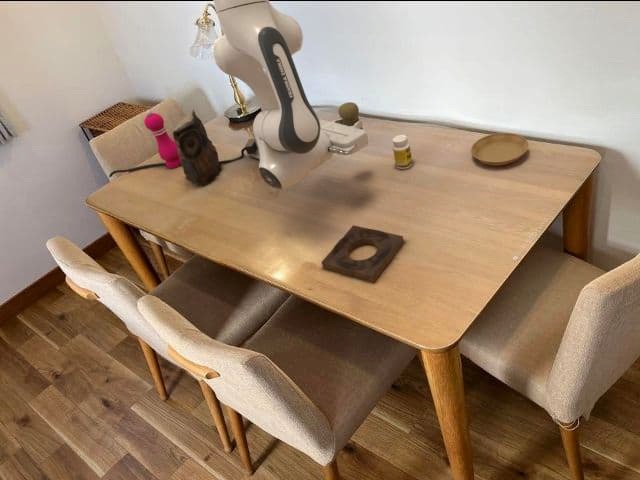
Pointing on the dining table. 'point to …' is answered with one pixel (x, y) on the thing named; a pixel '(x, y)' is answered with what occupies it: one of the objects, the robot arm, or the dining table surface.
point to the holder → (367, 267)
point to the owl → (196, 150)
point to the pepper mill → (162, 139)
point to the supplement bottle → (402, 152)
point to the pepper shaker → (349, 113)
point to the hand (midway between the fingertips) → (353, 120)
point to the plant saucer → (499, 148)
